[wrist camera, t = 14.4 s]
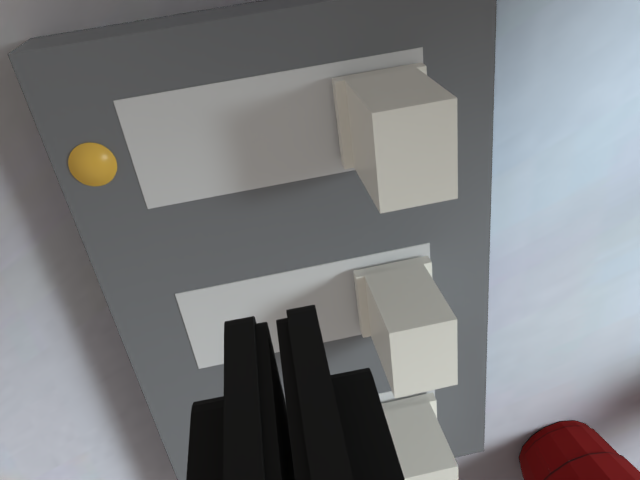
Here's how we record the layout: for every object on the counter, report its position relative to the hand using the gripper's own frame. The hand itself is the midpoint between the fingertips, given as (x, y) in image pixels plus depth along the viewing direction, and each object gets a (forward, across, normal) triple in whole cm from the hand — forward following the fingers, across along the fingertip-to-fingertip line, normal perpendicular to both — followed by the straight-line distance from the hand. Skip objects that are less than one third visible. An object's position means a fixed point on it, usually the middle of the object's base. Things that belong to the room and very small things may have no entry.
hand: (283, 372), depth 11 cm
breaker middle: (+14, -5, +9) cm, 17 cm away
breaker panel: (+17, -1, +10) cm, 20 cm away
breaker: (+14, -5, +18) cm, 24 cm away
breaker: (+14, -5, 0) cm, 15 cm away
